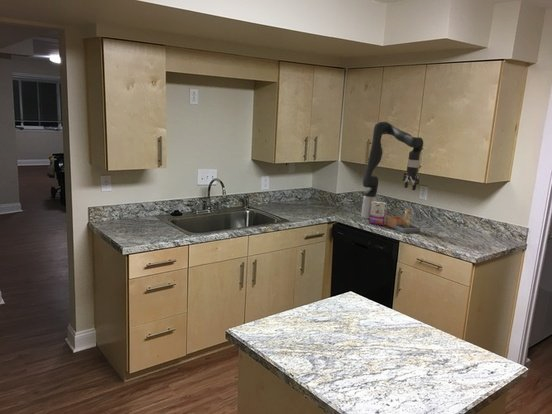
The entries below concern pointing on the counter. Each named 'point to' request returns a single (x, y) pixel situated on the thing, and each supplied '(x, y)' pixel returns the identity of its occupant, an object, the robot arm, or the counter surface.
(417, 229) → the slate tray
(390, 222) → the terracotta square open box
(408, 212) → the wooden dowel
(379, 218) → the candy bar box
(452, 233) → the counter surface
